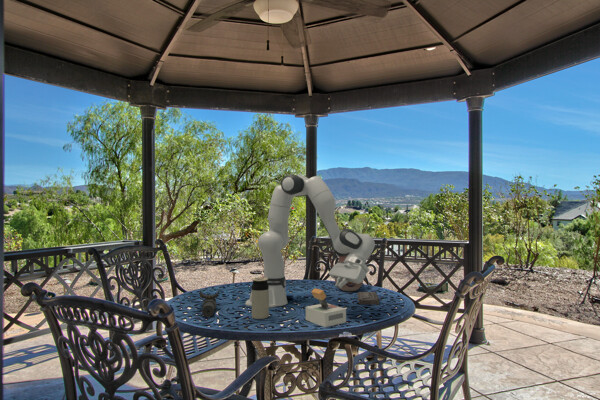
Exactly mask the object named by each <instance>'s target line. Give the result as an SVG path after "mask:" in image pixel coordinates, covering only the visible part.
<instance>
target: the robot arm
mask: <svg viewBox="0 0 600 400" xmlns="http://www.w3.org/2000/svg"><path fill="white" fill-rule="evenodd" d="M305 196H308V198H309V200H310V201H311V203H312V204H313V206H314V208H315V210H316V211H317V213H318V216H319V217H320V220H321V222H322V224H323V226H324V228H325V230H326V232H327V234H328V236H329V238H330V241H331V242H330V243H331V248H332V250H333V251H334V252H335V253H334V254H335V255H337V256H338V257H339V256H347V255H348V256H347V257H346V259H345V260H344V262H339V263H338V262H337V263H336V264H333V265H334V266H333V268H332V267H331V269H330V270H329V272H328V275H329V277H330V278H331V279H334V280H335V279H337V283H335V284H334V285H335V287H336V288H338V289H340V288H342V286H343V285H345V284H346V283H347V282H352V283H357V284H360V283H361V282H362V281H363V282H364V280H365V278H366V276H367V273H369V272H370V268H369V267H368V265H367V264H366V261H367V259H369V258H370V256H371V255H372V253H373V251H374V249H375V246H376V243H375V240H374V238H373V237H372V236H370V235H369V234H367V233H358V232H355V231H354V230H353V229H350V228H345V229H343V230H341V229H340V228H339V225H338V223H337V221H336V218H335V217H336V216H335V210H336V205H337V203H336V199H335V196H334V194H333V192H332V191H331V189H330V187H328V185H327V183H326V182H325V181H324V180H323V179H322V178H321V177H320V176H316V175H314V176H312V177H310V178H309V177H308V176H304V175H303V174H293V173H292V174H287V175H284V176H283V177H282V179H281V181H280V185H279V184H278V185H277V186H275V188H274V190H273V193H272V196H271V199H270V203H269V211H268V216H267V220H268V225H269V230H267V231H265V232H264V233H262V234H261V235H259V237H258V240H257V246H258V248H259V249H260V252H261V255H262V259H263V276H262V277H265V278H268V280H267V283H268V285H269V308H275V307H282V306H285V305H287V304H288V303H289V302H288V299H287V293H286V285H287V282H286V281H287V280H286V276H285V269H286V268H285V266H286V265H285V264H286V263H285V261H284V258H283V256H282V250H283V249H284V248H286V247H287V246H288V245H289V242H290V236H289V219H290V211H291V207H292V200H293V199H294V197H295V198H299V197H305ZM342 280H343V281H342ZM249 294H250V296H249V299H247V300H246V301H245V303H244V304H245V306H247V307H248V306H249V307H252V291H251V292H250V293H249Z"/></svg>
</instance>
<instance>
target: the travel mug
mask: <svg viewBox="0 0 600 400" xmlns="http://www.w3.org/2000/svg"><path fill="white" fill-rule="evenodd" d="M251 280H252V284H251V292H252V306H251V317H252V319H255V320H265V319H268V318H269V317H270V314H269V313H270V312H269V311H270V310H269V309H270V307H269V285H268V283H267V280H268V278H265V277H263V276H262V277H261V276H259V277H253V278H252V279H251Z"/></svg>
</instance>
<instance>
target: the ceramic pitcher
mask: <svg viewBox="0 0 600 400" xmlns="http://www.w3.org/2000/svg"><path fill="white" fill-rule="evenodd" d="M333 254H335V252H334V251H333V249H332V250H331V251H330V252H329V254H328V262H329V264H330V266H331V269H332V268H333V266H334V265H335V264H334V263H333V260H332V255H333ZM347 256H348V255H347ZM347 256H338V258H339V259H338V261H337V263H339V262H344V260H345V259H346V257H347ZM334 281H335V282H334V283H335V284H336V283H337V279H334ZM342 281H343V280H342ZM363 283H364V280H363V281H362V282H361V283H360V284H357V283H352V282H347V283H346V284H345V285H343V286H342V288H339V289H340V291H343V292H354V291H355V292H356V291H358V290H359V289H360V288H361V287H362V285H363Z"/></svg>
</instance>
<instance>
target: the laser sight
mask: <svg viewBox="0 0 600 400" xmlns="http://www.w3.org/2000/svg"><path fill="white" fill-rule="evenodd" d="M219 293H220V288H219V289H218V291H217V292H216V293H214V294H204V293H203V291H202V290H201V289H199V297H200V298H201V299H203V302H202V307H201V308H202V311H201V314H202V316H204V318H211V317H213V315H214V314H215V311H216V310H217V309H216V308H217V299H218V298H219ZM216 298H217V299H216Z"/></svg>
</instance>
